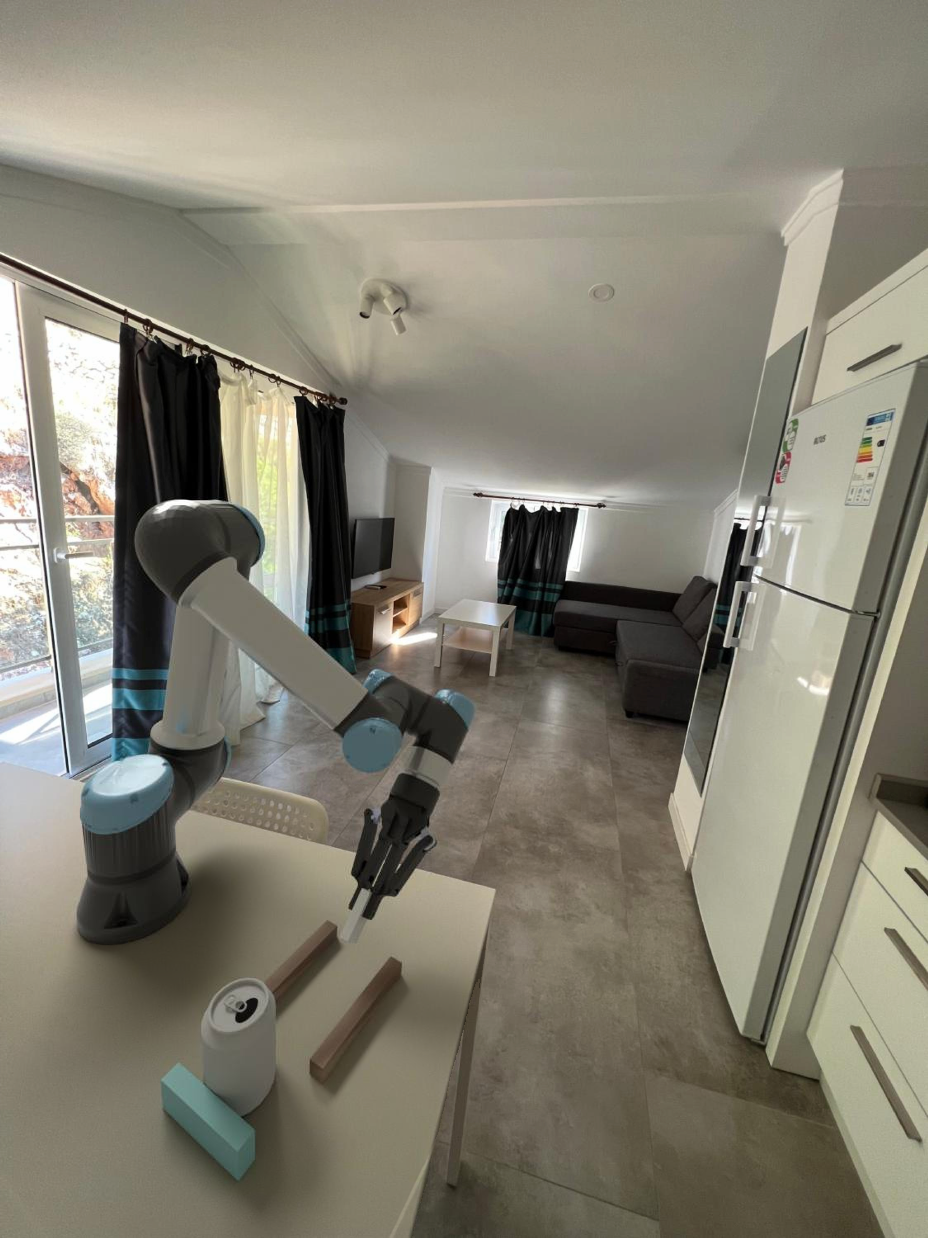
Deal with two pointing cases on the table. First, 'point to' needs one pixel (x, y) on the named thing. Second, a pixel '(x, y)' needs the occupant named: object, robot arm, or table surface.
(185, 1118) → the bar
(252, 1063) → the can
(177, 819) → the robot arm
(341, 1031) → the chute
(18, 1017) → the table surface
